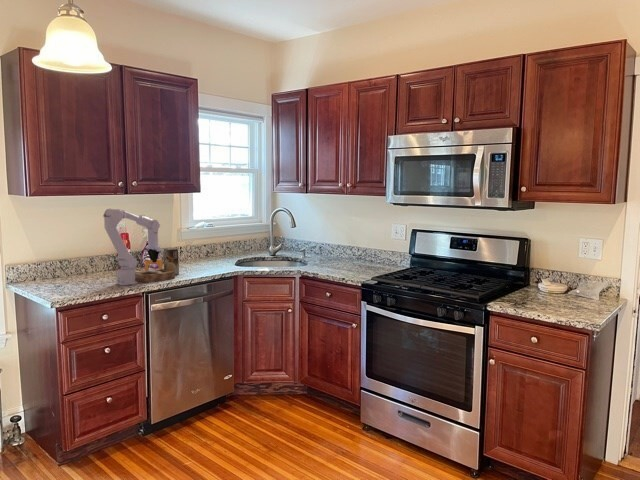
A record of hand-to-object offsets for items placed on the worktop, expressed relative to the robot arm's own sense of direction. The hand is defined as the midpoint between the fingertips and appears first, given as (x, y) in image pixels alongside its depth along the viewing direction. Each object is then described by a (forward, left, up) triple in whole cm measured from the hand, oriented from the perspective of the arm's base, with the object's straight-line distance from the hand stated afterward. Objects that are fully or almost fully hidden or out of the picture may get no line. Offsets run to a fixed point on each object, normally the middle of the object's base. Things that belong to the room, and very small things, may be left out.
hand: (153, 262), depth 284 cm
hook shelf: (0, +1, -10) cm, 10 cm away
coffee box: (+16, +8, -11) cm, 21 cm away
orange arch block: (0, 0, -5) cm, 5 cm away
